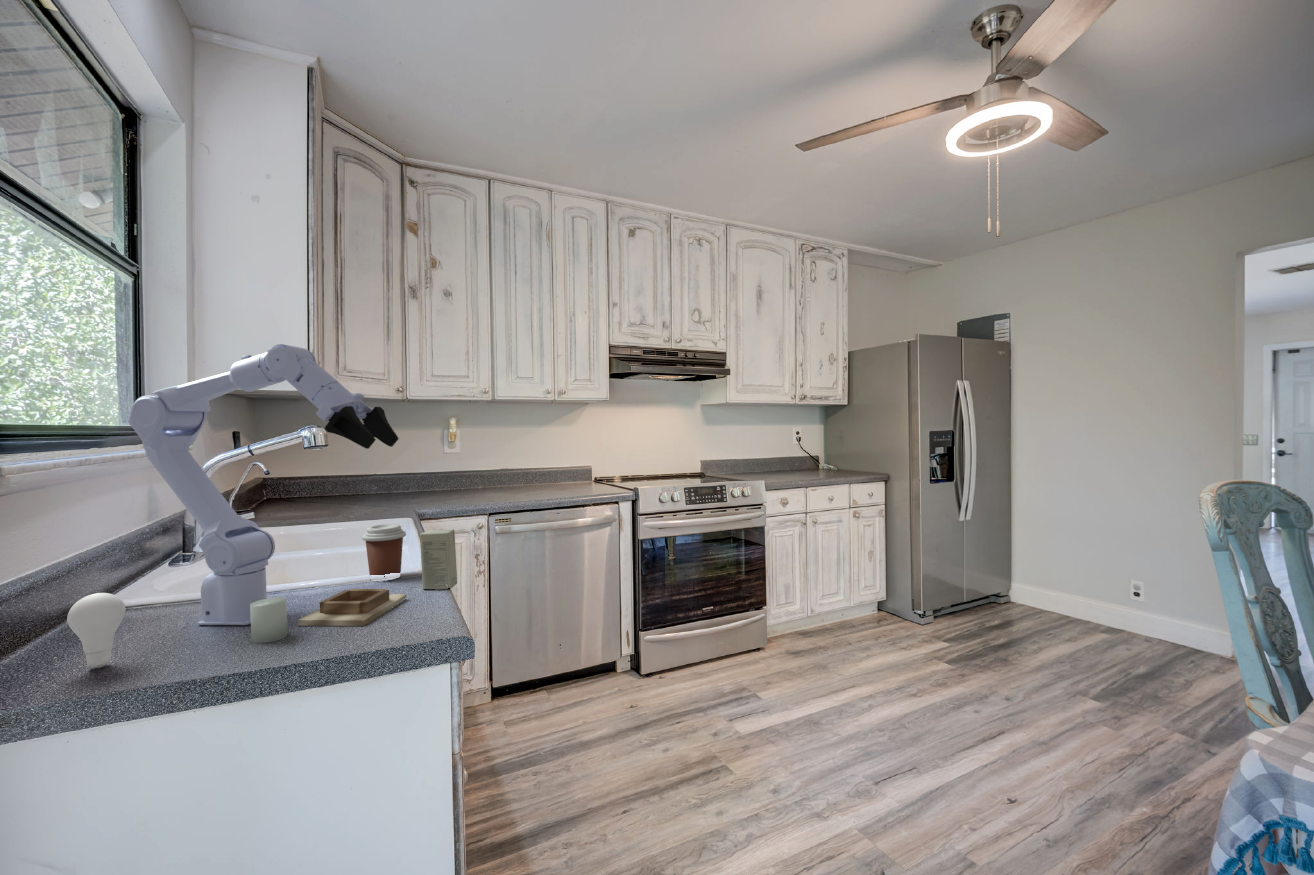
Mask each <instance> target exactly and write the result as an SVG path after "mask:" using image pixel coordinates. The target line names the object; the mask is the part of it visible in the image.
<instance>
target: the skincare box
mask: <svg viewBox="0 0 1314 875" xmlns="http://www.w3.org/2000/svg"><path fill="white" fill-rule="evenodd" d="M419 540H420V541H419V542H420V544H419V545H420V558H421V562H420V564H421V580H422V590H423V589H435V590H451V589H453V588H454V587H455V586H456V585H457V584H458V573H457V571H458V570H457V556H456V554H457V552H456V550H457V548H456V534H455V529H454V528H453V529H438V530H437V529H435V530H432V529H431V530H426V531H424V532H422V533H419ZM446 584H447V585H448V587H447V586H446ZM448 588H450V589H448Z"/></svg>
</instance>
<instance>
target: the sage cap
mask: <svg viewBox="0 0 1314 875" xmlns="http://www.w3.org/2000/svg"><path fill="white" fill-rule="evenodd" d="M287 609H288V606H287V598H286V597H267V599H263V600H259V601H256V602H253V603H251V604H250V617H251V624H250V639H251V643H252V644H266V643H267V644H268V643H273V642H276V641H279V640H282V639H284V638H286V637H288V633H289V632H288V612H287V611H288V610H287Z"/></svg>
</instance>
